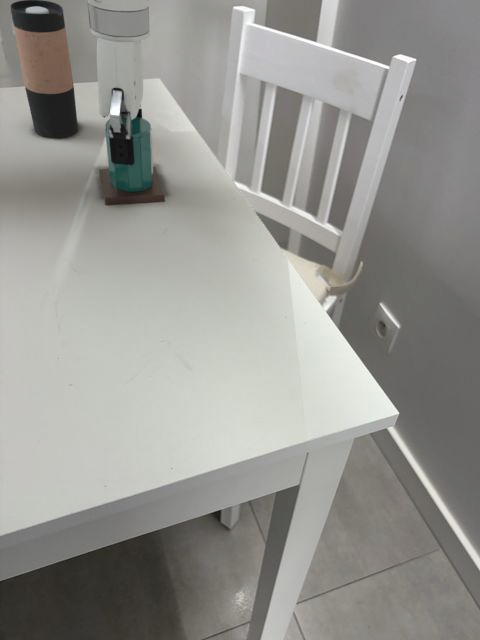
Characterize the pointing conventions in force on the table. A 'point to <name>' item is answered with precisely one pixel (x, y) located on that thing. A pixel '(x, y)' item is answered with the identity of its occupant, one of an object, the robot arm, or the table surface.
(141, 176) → the cup
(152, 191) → the cup stand
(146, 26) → the robot arm
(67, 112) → the travel mug
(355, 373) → the table surface
